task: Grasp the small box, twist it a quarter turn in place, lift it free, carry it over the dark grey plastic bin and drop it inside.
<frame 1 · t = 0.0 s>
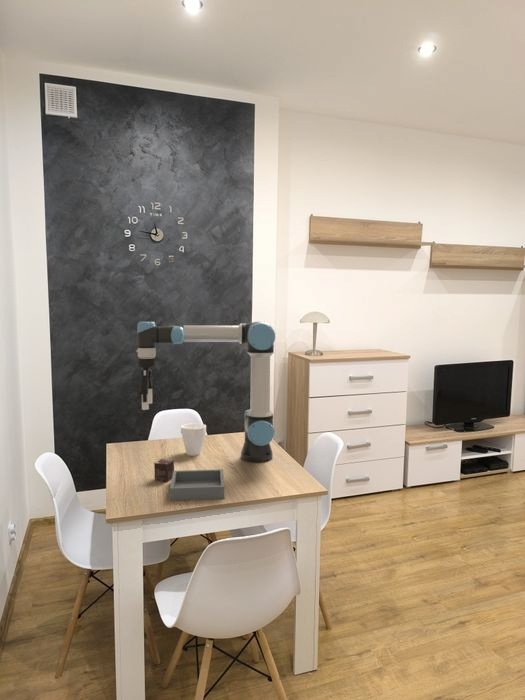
hand: (147, 406, 213), 28 cm above the table, fingers open, 13 cm apart
box: (164, 479, 204), on the table
cup: (193, 454, 240), on the table
bin: (197, 489, 192), on the table
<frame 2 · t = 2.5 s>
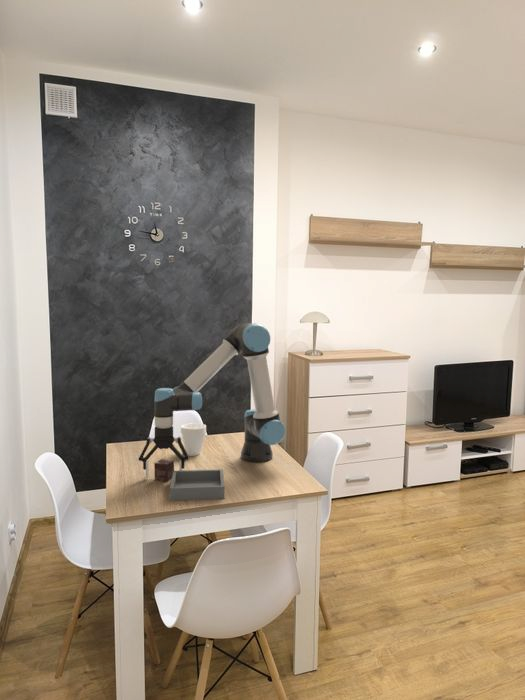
hand: (164, 476, 204), 1 cm above the table, fingers open, 13 cm apart
nothing on the table moved.
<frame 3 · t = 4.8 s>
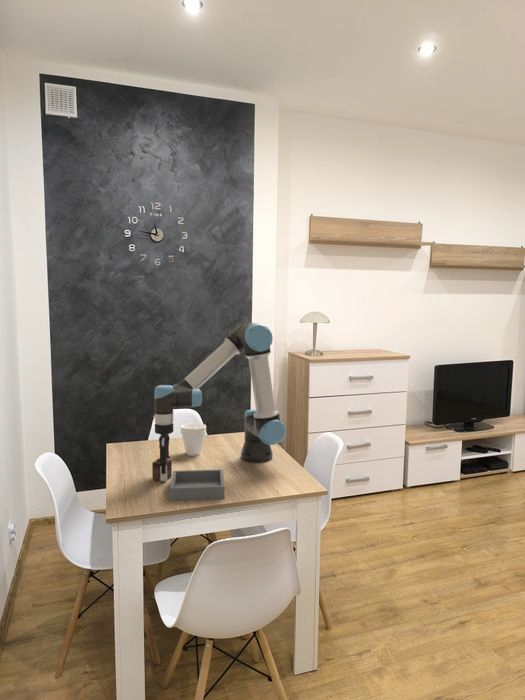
hand: (164, 477, 204), 1 cm above the table, fingers closed on box, 7 cm apart
box: (162, 478, 204), on the table, touching gripper
everything else where it was.
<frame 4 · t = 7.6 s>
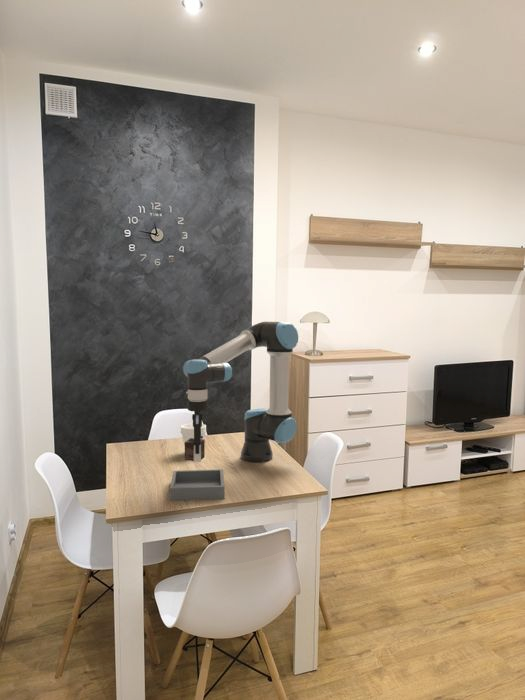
hand: (197, 458, 191), 13 cm above the table, fingers closed on box, 7 cm apart
box: (194, 459, 191), point 12 cm above the table, touching gripper
everything else where it was.
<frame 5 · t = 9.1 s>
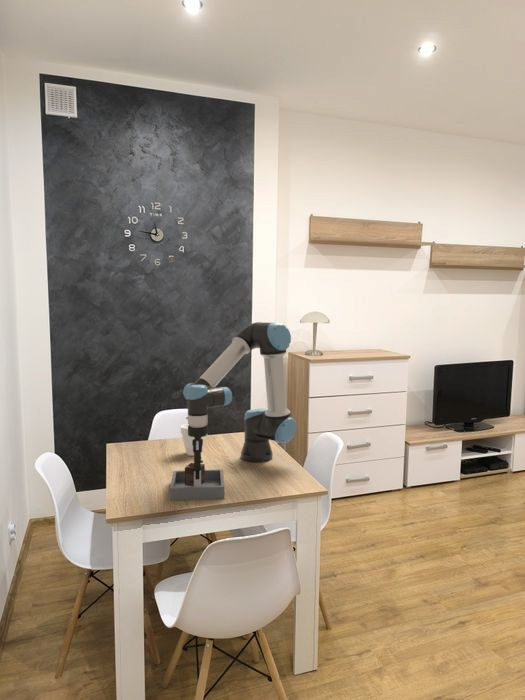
hand: (197, 483, 192), 3 cm above the table, fingers closed on box, 7 cm apart
box: (194, 484, 192), point 2 cm above the table, touching gripper
everything else where it was.
when the fingers open (2 cm above the table, at t = 10.2 s): box stays where it is, resting on bin.
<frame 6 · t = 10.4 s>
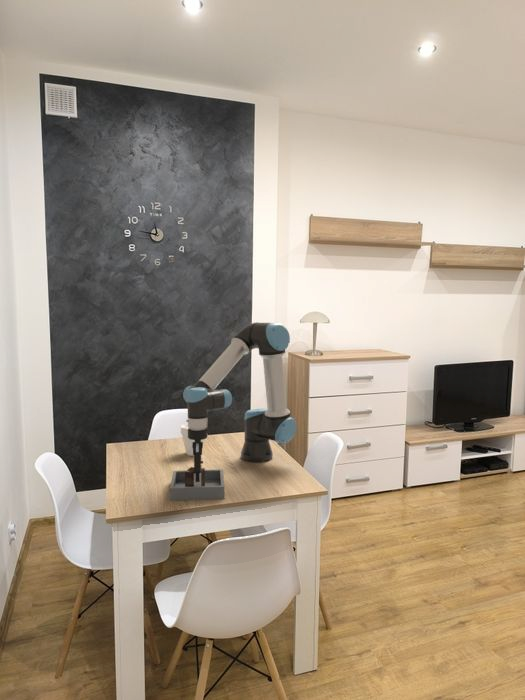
hand: (197, 484, 192), 2 cm above the table, fingers open, 9 cm apart
box: (195, 488, 192), resting on bin
everything else where it was.
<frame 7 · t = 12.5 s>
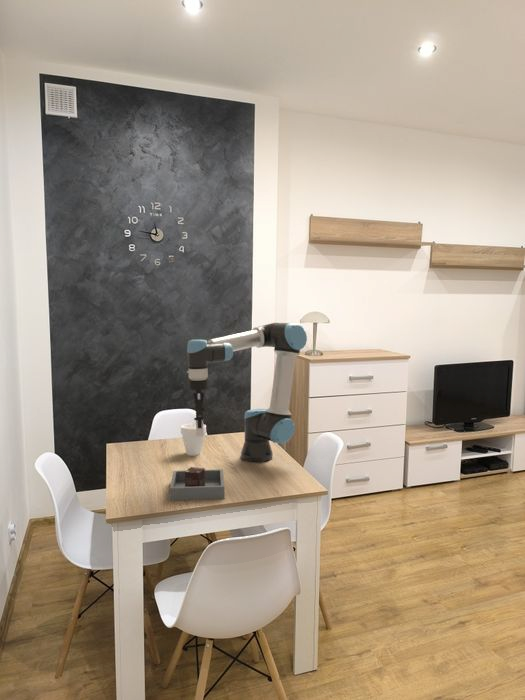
hand: (199, 431, 196), 21 cm above the table, fingers open, 13 cm apart
nothing on the table moved.
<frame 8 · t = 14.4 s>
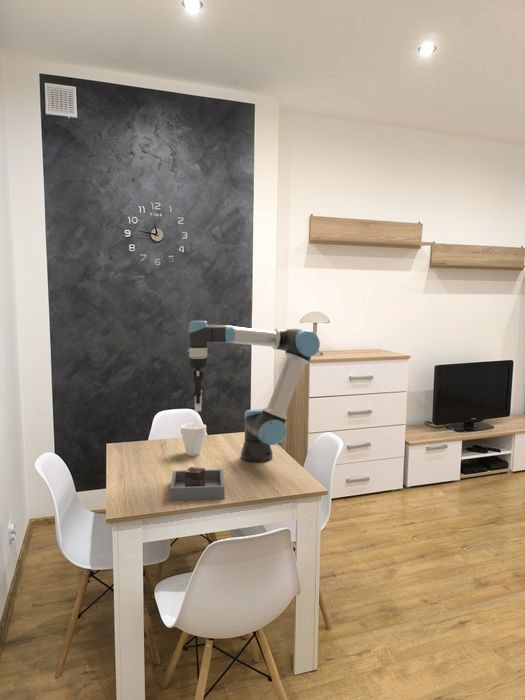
hand: (198, 407, 207), 29 cm above the table, fingers open, 13 cm apart
nothing on the table moved.
at the end: box inside the target area on the bin (1.1 cm from its centre), point 0.4 cm above the bin's base; the gripper is holding nothing; cup moved 0.2 cm from its start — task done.
